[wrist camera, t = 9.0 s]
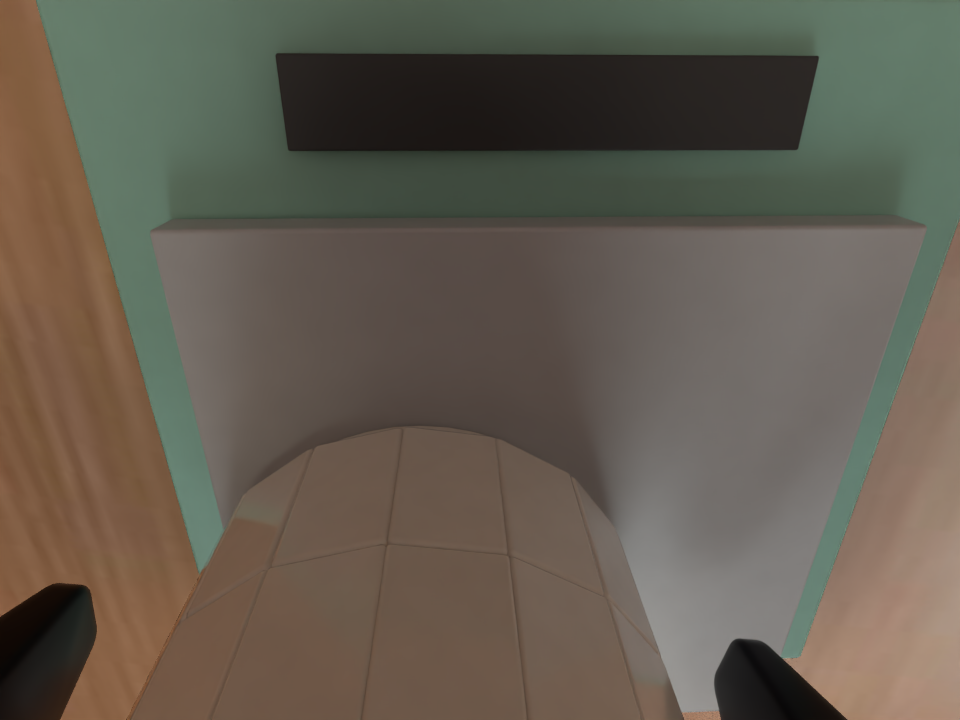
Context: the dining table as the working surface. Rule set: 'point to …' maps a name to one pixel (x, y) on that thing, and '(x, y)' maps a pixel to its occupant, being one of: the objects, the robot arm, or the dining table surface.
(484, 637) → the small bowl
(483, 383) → the kitchen scale
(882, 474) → the dining table surface
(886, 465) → the dining table surface
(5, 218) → the dining table surface
